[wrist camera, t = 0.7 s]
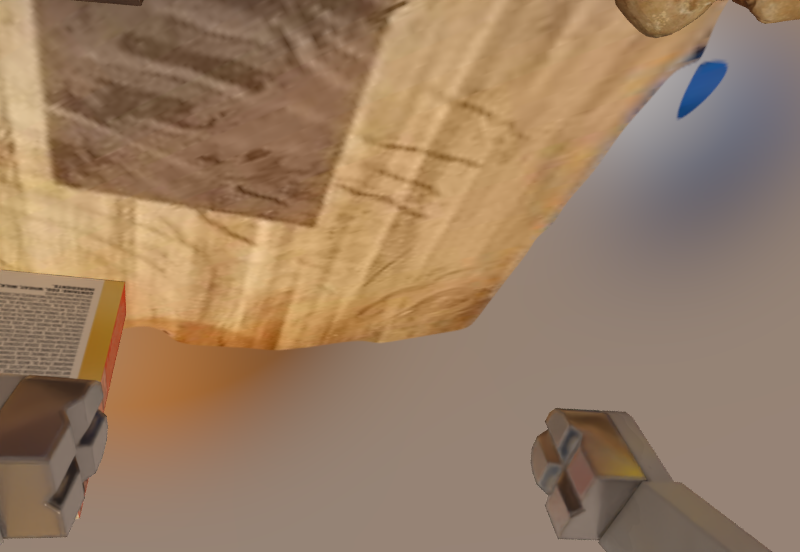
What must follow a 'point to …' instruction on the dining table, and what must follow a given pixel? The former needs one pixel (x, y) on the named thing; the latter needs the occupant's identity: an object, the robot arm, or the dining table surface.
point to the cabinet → (118, 2)
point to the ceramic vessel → (696, 13)
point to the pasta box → (60, 327)
